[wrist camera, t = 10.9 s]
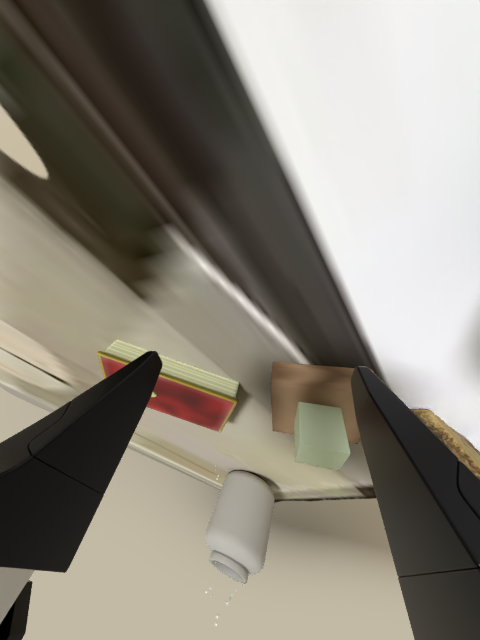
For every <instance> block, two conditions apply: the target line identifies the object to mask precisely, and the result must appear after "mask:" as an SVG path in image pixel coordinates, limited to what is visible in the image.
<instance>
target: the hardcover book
mask: <svg viewBox="0 0 480 640" xmlns="http://www.w3.org/2000/svg"><path fill="white" fill-rule="evenodd" d="M147 351H149V350H146V349H143V348H140V347H138V346H135V345H132V344H129V343H126V342H123V341H121V340H118V339H116V340H115V341H114V342H113V343H112V344H111V345H110V346H109V347H108V348H107V349H106V350H105V351H104V352H101V351H99V352H98V353H97V355H98V358H99V362H100V365H101V369H102V372H103V376H104V379H105V378H107V377H108V376H110V375H112V374H113V373H115V372H116V371H118V370H119V369H121V368H122V367H124V366H126V365H127V364H129V363H130V362H132V361H133V360H135V359H136V358H138V357H139V356H141V355H143V354H144V353H146V352H147ZM158 355H159V357H160V358H161V360H162V363H163V365H162V369H161V372H160V374H159V377H158V380H157V383H156V385H155V388H154V391H153V393H152V396H151V398H150V400H149V402H148V404H147V406H146V407H149V408H152V409H154V410H157V411H160V412H163V413H166V414H169V415H172V416H174V417H177V418H180V419H183V420H186V421H189V422H192V423H195V424H197V425H200V426H203V427H206V428H209V429H212V430H215V431H218V432H221V431H222V429H223V427H224V425H225V424H226V422H227V420H228V418H229V417H230V415H231V413H232V412H233V410H234V408H235V406H236V405H237V403H238V400H237V399H235V398H236V394H237V390H238V386H239V382H237V381H234V380H231V379H228V378H226V377H223V376H220V375H217V374H214V373H211V372H209V371H206V370H203V369H200V368H197V367H194V366H192V365H189V364H186V363H183V362H180V361H177V360H174V359H172V358H169V357H166V356H163V355H160V354H158Z"/></svg>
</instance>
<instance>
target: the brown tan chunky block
mask: <svg viewBox="0 0 480 640" xmlns="http://www.w3.org/2000/svg"><path fill="white" fill-rule="evenodd" d="M410 410H411V411H412V412H413V413H414V414H415V415H416V416H417V417H418V418H419V419H420V420H421V421H422V422H423V423H424V424H425V425H426V426H427V427H428V428H429V429H430V430H431V431H432V432H433V433H434V434H435V435H436V436H437V437H438V438H439V439H440V440H441V441H442V442H443V443H444V444H445V445H446V446H447V447H448V448H449V449H450V450H451V451H452V452H453V453H454V454H455V455H456V456H457V457H458V459H459V461H462V462H463V463H464V464H465V465H466V466H467V467H468V468H469V469H470V470H471V471H472V472H473V473H474V474H475V475H476V476H477V477H478V478H479V479H480V452H479V451H478V450H477V449H475V448H474V446H473V445H472V444H471V443H470V442H469V441H468V440H467V439H466V438H465V437H464V436H462V435H461V434H459V433H457V432H456V431H455V430H453V429H452V428H451V427H449V426H448V425H446V424H445V422H444V421H443V420H441V419H440V418H439V417H437V416H436V415H434V413H433V412H432V411H430V410H426V409H424V410H423V409H410Z"/></svg>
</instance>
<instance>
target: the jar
mask: <svg viewBox="0 0 480 640" xmlns="http://www.w3.org/2000/svg"><path fill="white" fill-rule="evenodd" d="M215 466H216V465H215ZM216 471H217V470H216ZM218 476H219V475H218ZM217 479H218V478H217ZM274 499H275V498H274V495H273V492H272V490H271V488H270V487H269V486H268V485H267V484H266V483H265V482H264V481H263V480H262V479H261V478H259V477H257V476H256V475H254V474H252V473H249V472H245V471H233V472H230V473H229V474H228V475H227V476H226V478H225V480H224V483H223V486H222V489H221V492H220V494H219V497H218V500H217V502H216V505H215V508H214V511H213V513H212V516H211V519H210V521H209V524H208V527H207V530H206V534H205V537H206V542H207V545H208V547H209V549H210V550H211V551H212V553H211V556H210V559H209V561H210V562H211V564H212V565H213V566H214V567H216V568H217V569H218V570H219V571H221V572H222V573H224V574H225V575H227V576H228V577H230V578H232V579H234V580H236V581H238V582H241V583H244V584H245V583H247V579H248V574H256V573H259V572H260V571H261V569H262V568H263V566H264V562H265V556H266V549H267V544H268V538H269V532H270V526H271V520H272V514H273V509H274ZM242 585H243V584H242ZM210 589H211V587H210ZM236 591H237V590H236ZM206 593H207V591H206ZM232 595H233V594H232ZM211 597H212V596H211ZM229 600H231V598H229ZM226 604H227V605H228V602H227V603H226ZM216 618H217V619H218V618H219V615H216ZM215 626H217V623H216V624H215Z"/></svg>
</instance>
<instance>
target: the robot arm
mask: <svg viewBox="0 0 480 640" xmlns="http://www.w3.org/2000/svg"><path fill="white" fill-rule="evenodd" d="M162 365H163V363H162V360H161V358H160V357H159V355H158V353H157V352H156V351H147V352H146V353H144V354H143V355H141V356H139V357H138V358H136V359H135V360H133V361H132V362H130V363H129V364H127V365H126V366H124V367H122V368H121V369H119V370H118V371H116V372H115V373H113V374H112V375H110V376H108V377H107V378H105V379H104V380H102V381H101V382H99V383H98V384H96V385H95V386H93V387H91V388H90V389H88V390H87V391H85V392H84V393H82V394H81V395H79V396H77V397H76V398H74V399H73V400H72V401H70V402H68V403H67V404H65V405H63V406H62V407H60V408H59V409H57V410H56V411H54V412H52V413H51V414H49V415H48V416H46V417H44V418H43V419H41V420H39V421H38V422H36V423H34V424H32V425H31V426H29V427H27V428H26V429H24V430H22V431H21V432H19V433H17V434H15V435H14V436H12V437H10V438H8V439H7V440H5V441H3V442H1V443H0V640H22V638H23V636H24V634H25V631H26V624H27V616H28V610H29V603H30V595H31V588H32V581H30V580H29V578H30V577H31V575H32V573H33V572H34V570H41V571H53V572H64V573H65V572H66V571H67V569H68V568H69V566H70V564H71V562H72V560H73V558H74V556H75V554H76V552H77V550H78V548H79V545H80V543H81V541H82V539H83V537H84V535H85V533H86V531H87V529H88V527H89V525H90V523H91V521H92V518H93V516H94V514H95V512H96V510H97V508H98V506H99V504H100V502H101V500H102V498H103V494H104V493H105V491H106V489H107V487H108V485H109V483H110V481H111V479H112V477H113V475H114V473H115V470H116V468H117V466H118V464H119V462H120V460H121V458H122V456H123V454H124V452H125V450H126V448H127V446H128V444H129V441H130V439H131V437H132V435H133V433H134V431H135V429H136V427H137V425H138V423H139V421H140V419H141V417H142V414H143V412H144V410H145V408H146V406H147V404H148V402H149V400H150V398H151V396H152V393H153V391H154V388H155V385H156V383H157V380H158V377H159V374H160V372H161V369H162ZM351 388H352V395H353V402H354V409H355V416H356V422H357V426H358V430H359V433H360V437H361V441H362V445H363V448H364V452H365V456H366V459H367V463H368V467H369V471H370V474H371V478H372V482H373V486H374V489H375V493H376V497H377V500H378V504H379V508H380V511H381V515H382V519H383V523H384V526H385V530H386V534H387V538H388V541H389V545H390V549H391V553H392V556H393V559H394V563H395V567H396V571H397V575H398V577H399V578H398V579H399V583H400V586H401V590H402V594H403V598H404V602H405V605H406V609H407V612H408V616H409V620H410V624H411V628H412V631H413V635H414V639H415V640H480V479H479V478H478V477H477V476H476V475H475V474H474V473H473V472H472V471H471V470H470V469H469V468H468V467H467V466H466V465H465V464H464V463H463V462H462V461H459V459H458V457H457V456H456V455H455V454H454V453H453V452H452V451H451V450H450V449H449V448H448V447H447V446H446V445H445V444H444V443H443V442H442V441H441V440H440V439H439V438H438V437H437V436H436V435H435V434H434V433H433V432H432V431H431V430H430V429H429V428H428V427H427V426H426V425H425V424H424V423H423V422H422V421H421V420H420V419H419V418H418V417H417V416H416V415H415V414H414V413H413V412H412V411H411V410H410V409H409V408H408V407H407V406H406V405H405V404H404V403H403V402H402V401H401V400H400V399H399V398H398V397H397V396H396V395H395V394H394V393H393V392H392V391H391V390H390V389H389V388H388V387H387V386H386V385H385V384H384V383H383V382H382V381H381V380H380V379H379V378H378V377H377V376H376V375H375V373H374V372H373V371H372V370H371V369H370V368H368V367H366V366H356V367H355V368H354V371H353V374H352V377H351Z"/></svg>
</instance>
